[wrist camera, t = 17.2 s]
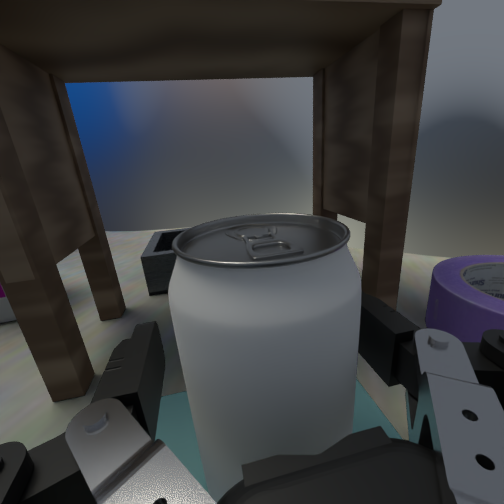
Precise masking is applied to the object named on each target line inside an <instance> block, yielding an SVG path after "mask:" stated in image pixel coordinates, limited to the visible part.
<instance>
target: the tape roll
mask: <svg viewBox="0 0 504 504" xmlns="http://www.w3.org/2000/svg"><path fill="white" fill-rule="evenodd" d="M425 322H426V326H427V328H430V329H437V330H441V331H444V332H447V333H449V334H451V335H453V336H455V337H456V338H458V339H459V340H460V341H461V342H481V339H482V335H483V332H484V331H486V330H489V329H500V330H504V256H501V255H472V256H461V257H455V258H450V259H447V260H444V261H441V262H440V263H438V264H437V265H436V266H435V267H434V269H433V272H432V279H431V285H430V292H429V299H428V305H427V311H426V317H425Z"/></svg>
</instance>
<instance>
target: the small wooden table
mask: <svg viewBox="0 0 504 504" xmlns="http://www.w3.org/2000/svg"><path fill="white" fill-rule="evenodd" d="M441 3H442V0H0V283H1V285H2V288H3V290H4V292H5V294H6V297H7V299H8V301H9V303H10V306H11V308H12V310H13V312H14V315H15V317H16V319H17V321H18V324H19V326H20V328H21V331H22V333H23V335H24V337H25V340H26V342H27V344H28V346H29V349H30V351H31V353H32V355H33V358H34V360H35V362H36V364H37V367H38V369H39V371H40V374H41V376H42V378H43V380H44V383H45V385H46V387H47V389H48V392H49V394H50V396H51V398H52V401H53V402H56V401H60V400H65V399H70V398H74V397H79V396H83V395H85V394H86V391H87V389H88V387H89V385H90V383H91V381H92V379H93V377H94V374H95V373H94V370H93V368H92V365H91V362H90V359H89V356H88V353H87V351H86V348H85V345H84V342H83V339H82V336H81V334H80V331H79V328H78V325H77V322H76V319H75V317H74V314H73V311H72V308H71V305H70V302H69V300H68V297H67V294H66V291H65V288H64V285H63V283H62V280H61V277H60V274H59V271H58V268H57V266H56V264H57V263H58V262H60V261H61V260H63V259H64V258H65V257H67V256H68V255H69V254H71V253H72V252H73V251H75V250H76V249H78V250H79V253H80V256H81V259H82V263H83V266H84V269H85V272H86V275H87V278H88V282H89V285H90V288H91V291H92V294H93V297H94V301H95V304H96V307H97V310H98V313H99V316H100V320H101V321H103V320H108V319H114V318H120V317H122V315H123V313H124V310H125V308H126V306H125V303H124V299H123V295H122V292H121V288H120V284H119V281H118V277H117V273H116V270H115V266H114V262H113V259H112V255H111V251H110V248H109V244H108V240H107V237H106V233H105V229H104V226H103V222H102V218H101V215H100V211H99V208H98V204H97V201H96V197H95V193H94V189H93V186H92V182H91V179H90V175H89V171H88V167H87V164H86V160H85V156H84V153H83V149H82V145H81V142H80V138H79V134H78V131H77V127H76V123H75V120H74V116H73V112H72V109H71V105H70V102H69V98H68V94H67V90H66V87H65V83H84V82H121V81H122V82H123V81H161V80H162V81H163V80H201V79H202V80H203V79H239V78H240V79H242V78H277V77H278V78H280V77H281V78H283V77H313V215H317V216H322V217H327V218H331V219H334V220H337V214H340V215H343V216H346V217H349V218H352V219H355V220H358V221H361V222H364V223H366V229H365V242H364V256H363V270H362V284H361V289H362V291H363V292H364V293H366V294H369V295H371V296H374V297H376V298H379V299H380V300H382V301H383V302H385V303H386V304H387V305H388V306H390V307H391V308H393V309H394V310H395V312H396V305H397V297H398V289H399V281H400V273H401V265H402V257H403V249H404V241H405V233H406V225H407V218H408V210H409V202H410V194H411V186H412V178H413V170H414V162H415V154H416V146H417V139H418V130H419V122H420V115H421V107H422V99H423V91H424V83H425V75H426V67H427V59H428V51H429V43H430V36H431V28H432V20H433V12H434V9H435V8H437V7H438V6H440V5H441Z"/></svg>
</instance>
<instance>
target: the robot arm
mask: <svg viewBox="0 0 504 504" xmlns="http://www.w3.org/2000/svg"><path fill="white" fill-rule="evenodd" d="M358 352H359V353H360V355H361V356H362V357H363V358H364V359H365V360H366V361H367V363H368V364H369V365H370V366H371V367H372V368H373V369H374V371H375V372H376V373H377V374H378V375H379V376H380V377H381V379H382V380H383V381H384V382H385V383H386V384H387V385H388V387H390V386H394V385H398V384H402V385H403V386H404V387H405V388H406V392H405V398H406V409H407V421H408V432H409V441H407V440H403V439H397V438H389V437H388V435H387V434H386V433H385V431H384V430H383V428H382V427H381V426H377V427H373V428H370V429H366V430H363V431H359V432H356V433H352V434H349V435H347V436H346V437H344V438H343V439H341V440H340V441H338V442H337V443H335V444H334V445H332V446H331V447H330V448H328V449H327V450H325V451H324V452H322V453H320V454H317V455H275V456H271V457H268V458H264V459H261V460H257V461H254V462H250V463H247V464H243V465H241V466H242V474H243V480H241V481H240V482H238V483H237V484H235V485H234V486H233V487H232V488H231V489H229V490H228V491H227V492H226V493H225V494H224V495H223V496H222V497H221V499H220V500H219V501H218V502H217V503H216V502H215V501H214V500H213V499H212V497H211V496H210V495H209V494H208V493H207V492H206V490H205V489H204V488H203V487H202V486H201V485H200V483H199V482H198V481H197V480H196V479H195V478H194V477H193V475H192V474H191V473H190V472H189V471H188V470H187V468H186V467H185V466H184V465H183V464H182V463H181V461H180V460H179V459H178V458H177V457H176V456H175V455H174V453H173V452H172V451H171V450H170V449H169V448H168V446H167V445H166V444H165V443H164V442H163V441H162V440H160V439H157V440H156V441H155V437H156V429H157V422H158V415H159V408H160V401H161V393H162V386H163V379H164V372H165V355H164V350H163V345H162V341H161V337H160V332H159V328H158V324H157V322H156V321H154V322H149V323H143V324H138V325H136V326H135V329H134V332H133V335H132V337H131V339H126V340H123V341H122V342H121V343H120V344H119V345H118V346H117V347H116V348H115V349H114V350H113V352H112V355H111V357H110V359H109V362H108V364H107V366H106V369H105V371H104V373H103V376H102V378H101V380H100V383H99V385H98V387H97V390H96V392H95V394H94V397H93V399H92V401H91V404H90V405H88V406H86V407H85V408H84V409H82V410H81V411H80V412H79V413H78V414H77V415H76V416H75V417H74V418H73V419H72V420H71V422H70V423H69V425H68V427H67V429H66V432H64V433H63V434H61V435H59V436H57V437H56V438H54V439H52V440H49V441H47V442H45V443H43V444H41V445H39V446H37V447H35V448H33V449H31V450H29V451H27V449H26V447H25V446H24V445H23V443H20V442H8V443H4V444H1V445H0V504H504V330H500V329H489V330H486V331H484V332H483V335H482V339H481V342H461V341H460V340H459V339H458V338H456V337H455V336H453V335H451V334H449V333H447V332H444V331H441V330H437V329H430V328H426V329H420V328H419V327H418V326H416V325H415V324H413V323H412V322H411V321H409V320H408V319H407V318H405V317H404V316H402V315H401V314H400V313H398V312H395V310H394V309H393V308H391V307H390V306H388V305H387V304H386V303H385V302H383V301H382V300H380V299H379V298H376V297H374V296H371V295H369V294H366V293H364V292H363V291H362V292H361V315H360V331H359V345H358Z"/></svg>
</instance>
